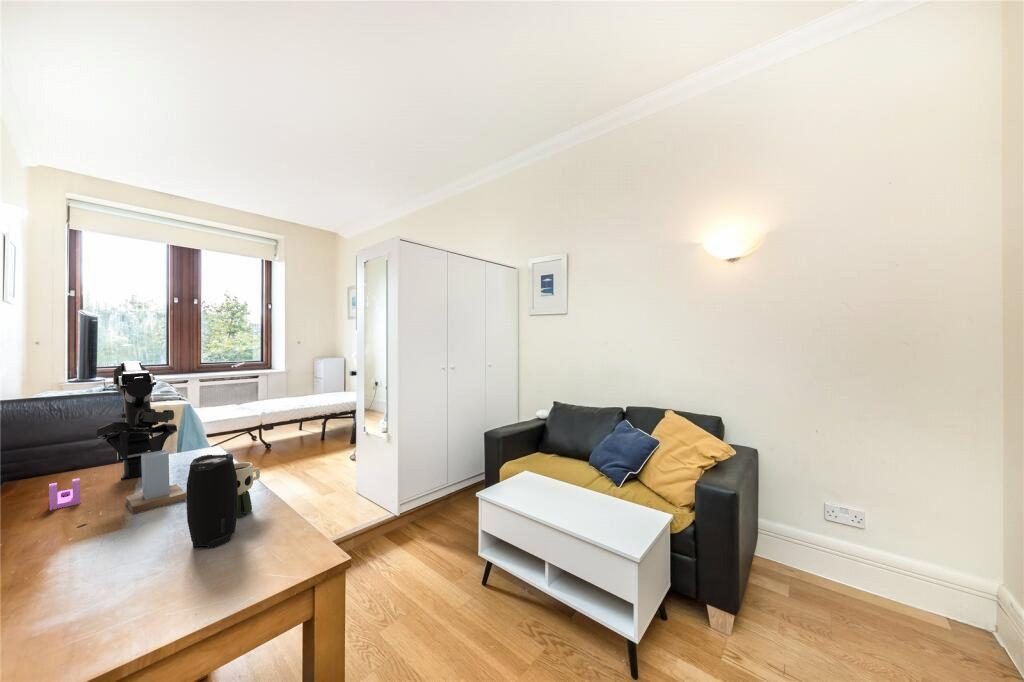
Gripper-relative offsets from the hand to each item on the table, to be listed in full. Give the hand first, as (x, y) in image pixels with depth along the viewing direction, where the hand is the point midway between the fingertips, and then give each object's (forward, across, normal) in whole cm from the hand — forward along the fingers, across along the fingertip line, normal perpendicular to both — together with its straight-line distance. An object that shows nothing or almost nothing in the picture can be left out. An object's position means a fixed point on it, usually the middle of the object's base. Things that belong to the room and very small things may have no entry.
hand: (142, 457), depth 113 cm
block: (+13, -2, -5) cm, 14 cm away
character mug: (+27, -6, -32) cm, 42 cm away
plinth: (+15, -1, -4) cm, 15 cm away
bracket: (+5, -2, +22) cm, 23 cm away
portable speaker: (+32, -17, -35) cm, 51 cm away
